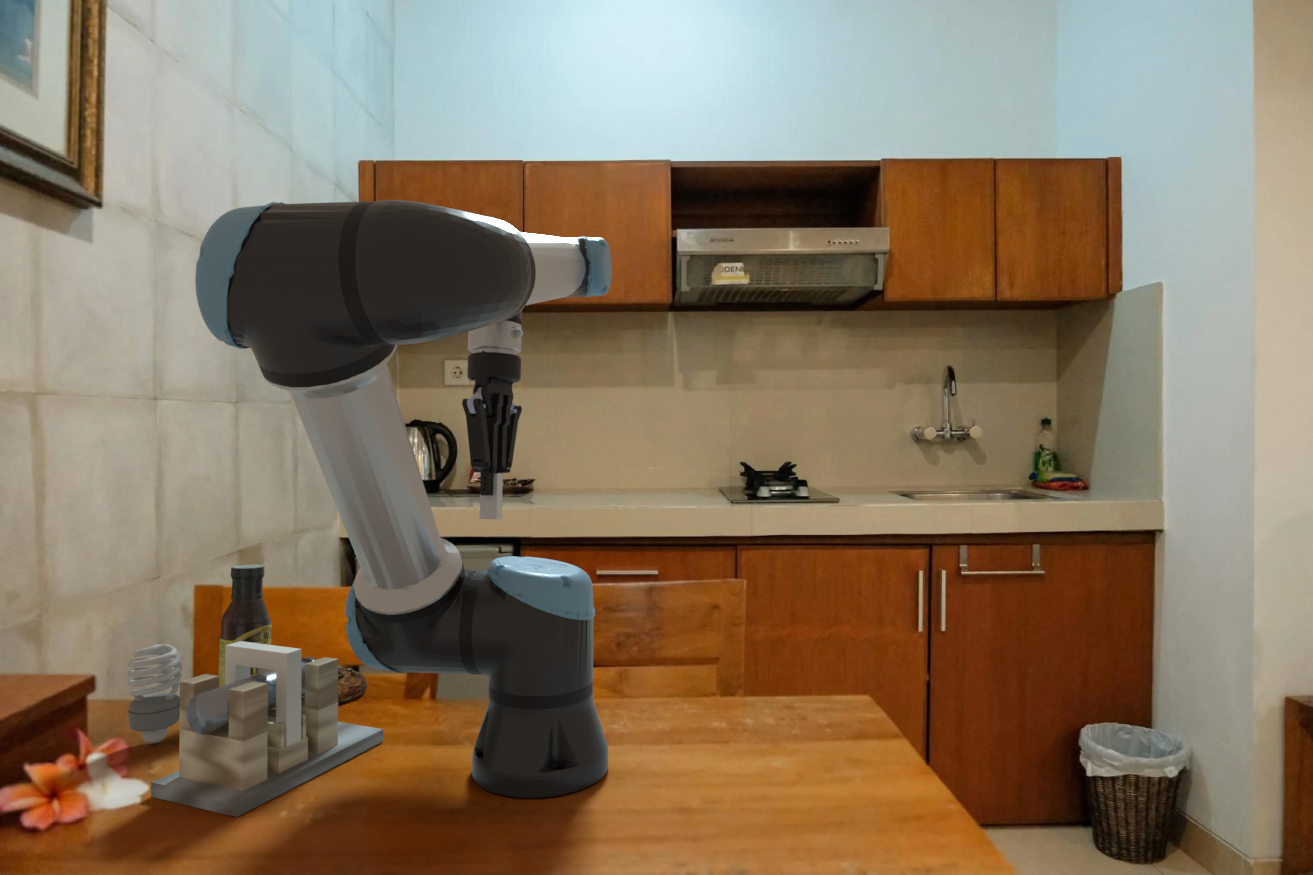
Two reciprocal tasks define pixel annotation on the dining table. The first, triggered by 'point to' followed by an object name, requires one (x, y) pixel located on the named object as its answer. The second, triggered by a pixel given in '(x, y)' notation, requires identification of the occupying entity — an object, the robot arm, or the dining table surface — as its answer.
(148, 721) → the light bulb
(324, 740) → the grey block assembly base
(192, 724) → the shaft
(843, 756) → the dining table surface
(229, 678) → the grey arch-shaped block
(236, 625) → the sauce bottle
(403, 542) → the robot arm
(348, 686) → the bread roll
